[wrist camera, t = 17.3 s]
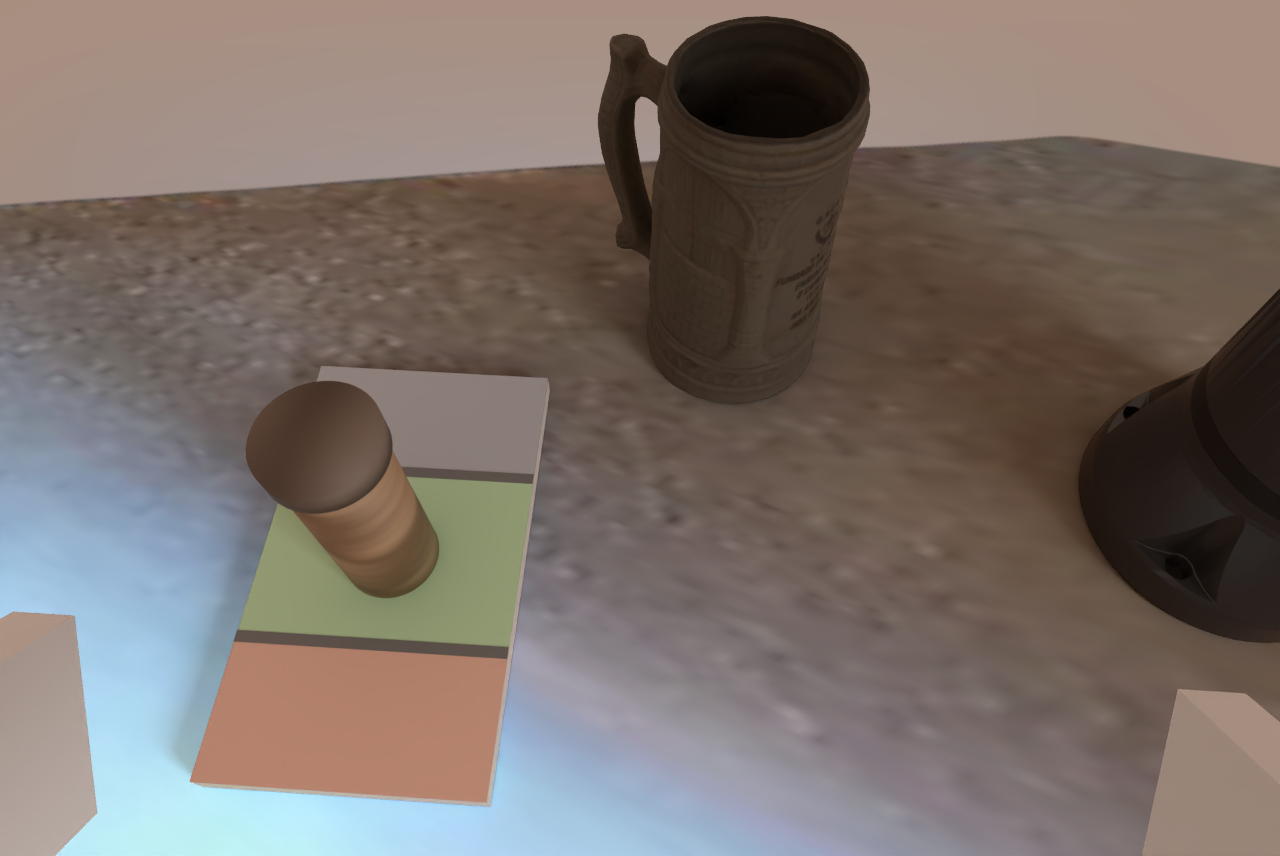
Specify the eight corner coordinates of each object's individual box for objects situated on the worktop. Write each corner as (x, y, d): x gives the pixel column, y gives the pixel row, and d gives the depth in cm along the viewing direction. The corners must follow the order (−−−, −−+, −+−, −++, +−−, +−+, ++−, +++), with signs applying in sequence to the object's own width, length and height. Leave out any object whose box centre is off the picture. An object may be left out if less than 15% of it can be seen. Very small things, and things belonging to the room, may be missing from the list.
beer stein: (848, 314, 57) (910, 31, 40) (784, 436, 52) (825, 170, 35) (643, 244, 61) (623, -35, 45) (566, 350, 56) (512, 79, 40)
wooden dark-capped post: (452, 508, 48) (395, 382, 37) (435, 606, 45) (367, 500, 34) (352, 504, 48) (267, 378, 37) (329, 601, 45) (228, 495, 34)
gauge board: (549, 391, 54) (547, 377, 52) (490, 806, 41) (486, 801, 40) (328, 379, 54) (321, 365, 53) (202, 786, 41) (189, 781, 40)
